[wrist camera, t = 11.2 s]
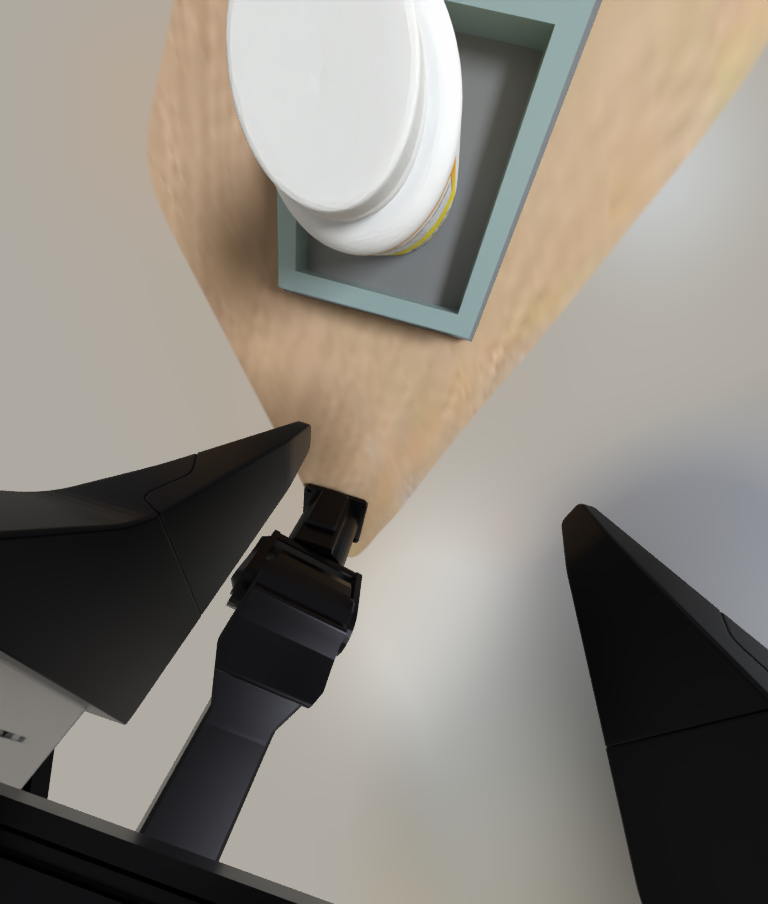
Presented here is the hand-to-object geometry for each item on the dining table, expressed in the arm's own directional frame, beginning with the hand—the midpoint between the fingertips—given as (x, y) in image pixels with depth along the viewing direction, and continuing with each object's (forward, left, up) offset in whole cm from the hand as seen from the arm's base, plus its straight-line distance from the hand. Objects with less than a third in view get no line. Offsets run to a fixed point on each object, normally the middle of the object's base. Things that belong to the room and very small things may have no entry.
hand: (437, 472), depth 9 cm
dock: (+8, +5, -12) cm, 15 cm away
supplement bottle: (+8, +5, -11) cm, 15 cm away
